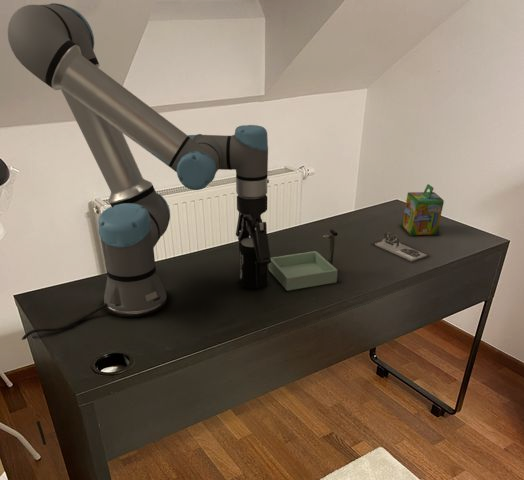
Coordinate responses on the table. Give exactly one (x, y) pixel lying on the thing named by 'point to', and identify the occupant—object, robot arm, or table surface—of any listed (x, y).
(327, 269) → the sink
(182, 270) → the table surface
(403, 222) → the chalk box
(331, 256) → the tap
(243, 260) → the beverage can
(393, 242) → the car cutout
